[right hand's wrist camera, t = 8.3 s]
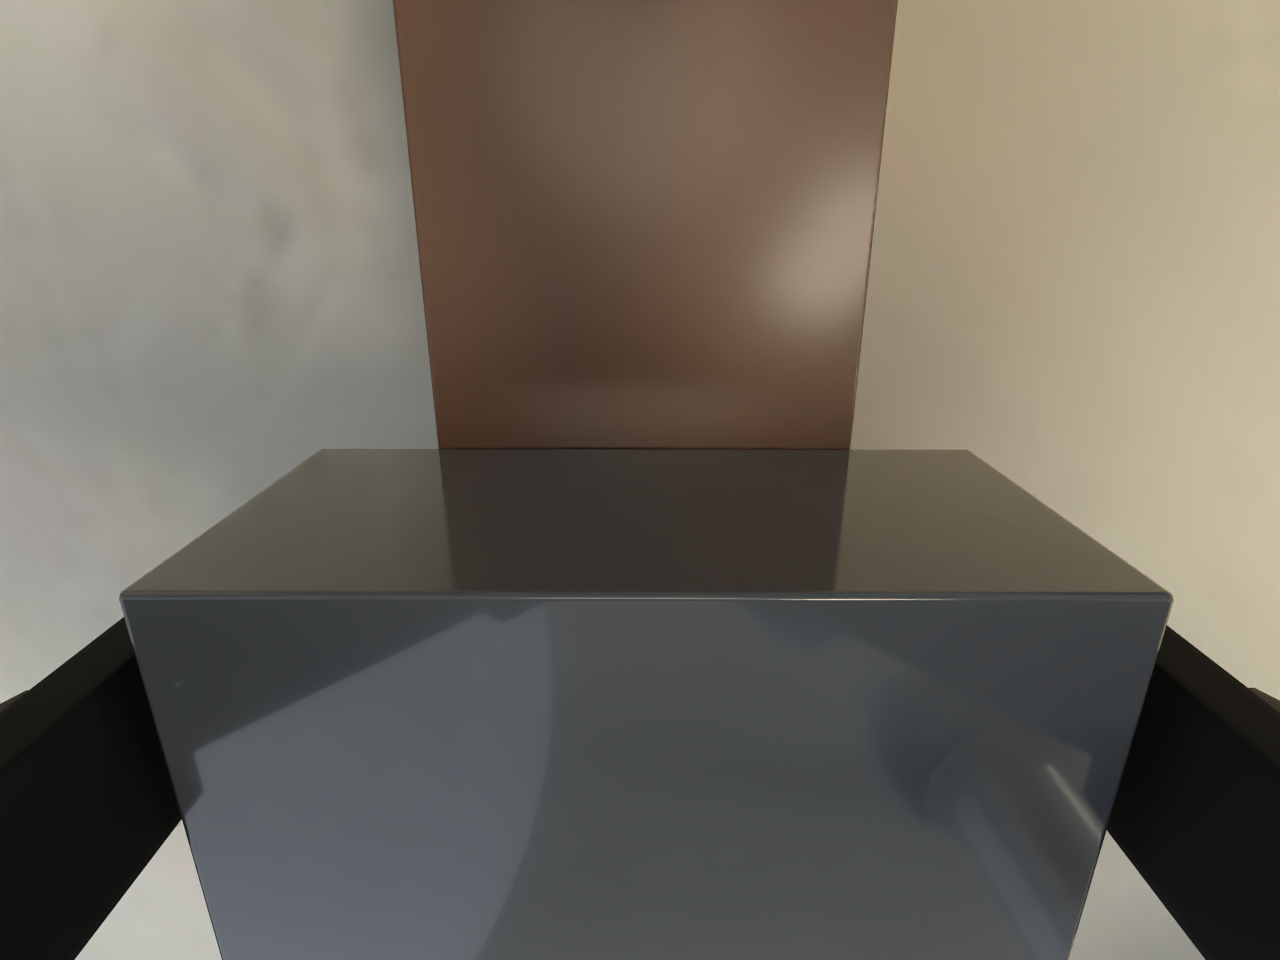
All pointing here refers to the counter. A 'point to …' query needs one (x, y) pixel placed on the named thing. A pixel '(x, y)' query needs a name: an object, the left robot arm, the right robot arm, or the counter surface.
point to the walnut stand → (644, 217)
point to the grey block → (645, 706)
